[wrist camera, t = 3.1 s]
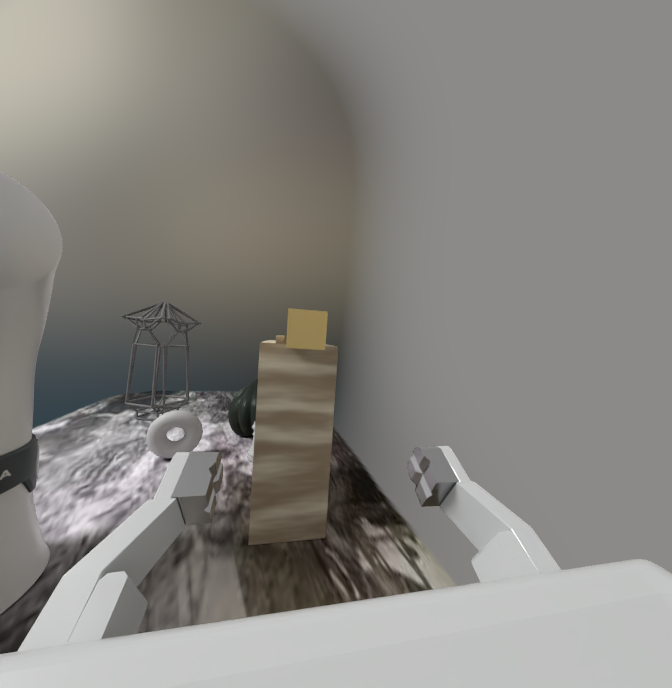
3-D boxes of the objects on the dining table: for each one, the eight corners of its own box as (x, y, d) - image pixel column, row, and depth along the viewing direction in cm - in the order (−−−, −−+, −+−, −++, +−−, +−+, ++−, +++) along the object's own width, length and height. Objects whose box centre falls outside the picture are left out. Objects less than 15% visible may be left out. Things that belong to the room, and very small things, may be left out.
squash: (265, 428, 57) (284, 374, 66) (208, 423, 59) (233, 371, 69) (283, 449, 67) (296, 400, 77) (233, 444, 70) (252, 396, 80)
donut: (142, 465, 48) (145, 414, 48) (147, 457, 51) (149, 409, 51) (200, 458, 52) (203, 411, 52) (202, 451, 55) (204, 406, 55)
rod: (325, 350, 23) (327, 311, 22) (286, 347, 22) (288, 308, 22) (305, 342, 48) (306, 324, 48) (286, 341, 47) (287, 322, 47)
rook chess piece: (262, 465, 51) (264, 427, 51) (242, 461, 52) (244, 424, 52) (272, 455, 55) (274, 420, 55) (253, 452, 56) (255, 417, 56)
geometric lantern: (110, 421, 69) (117, 296, 69) (159, 407, 85) (164, 305, 85) (158, 427, 67) (166, 297, 67) (200, 412, 82) (205, 307, 82)
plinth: (325, 537, 34) (338, 339, 33) (248, 545, 32) (260, 334, 31) (313, 473, 49) (321, 338, 49) (261, 475, 47) (269, 334, 47)
